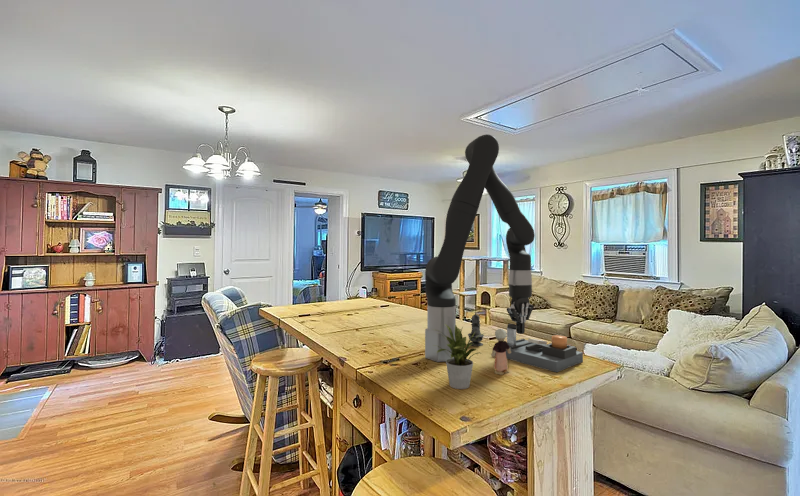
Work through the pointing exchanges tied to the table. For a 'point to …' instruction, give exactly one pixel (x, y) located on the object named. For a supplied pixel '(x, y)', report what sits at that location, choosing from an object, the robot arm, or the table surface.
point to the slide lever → (511, 334)
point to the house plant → (459, 359)
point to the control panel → (544, 355)
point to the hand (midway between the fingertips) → (520, 333)
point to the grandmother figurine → (500, 352)
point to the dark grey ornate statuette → (476, 328)
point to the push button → (559, 341)
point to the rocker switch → (537, 341)
